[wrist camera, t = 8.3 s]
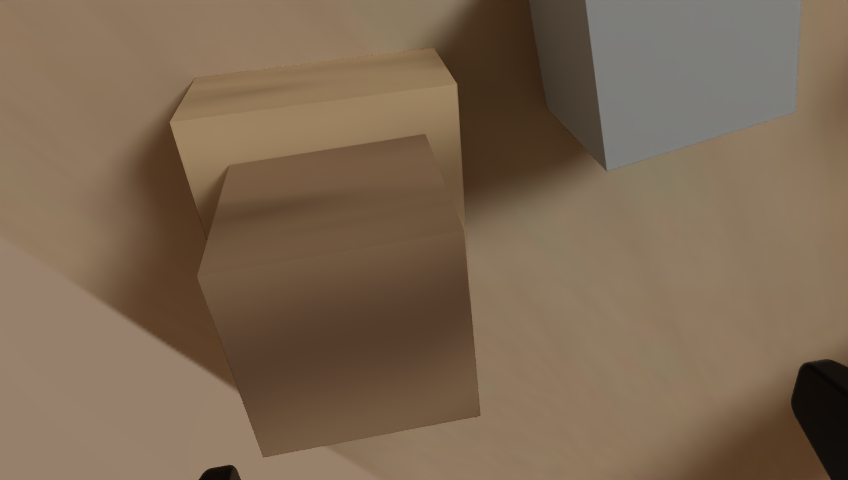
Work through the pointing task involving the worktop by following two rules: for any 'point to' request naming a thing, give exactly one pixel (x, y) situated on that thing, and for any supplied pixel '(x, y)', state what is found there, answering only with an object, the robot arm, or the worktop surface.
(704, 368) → the worktop surface
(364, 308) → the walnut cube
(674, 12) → the slate-grey cube
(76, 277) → the worktop surface
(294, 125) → the oak base block
